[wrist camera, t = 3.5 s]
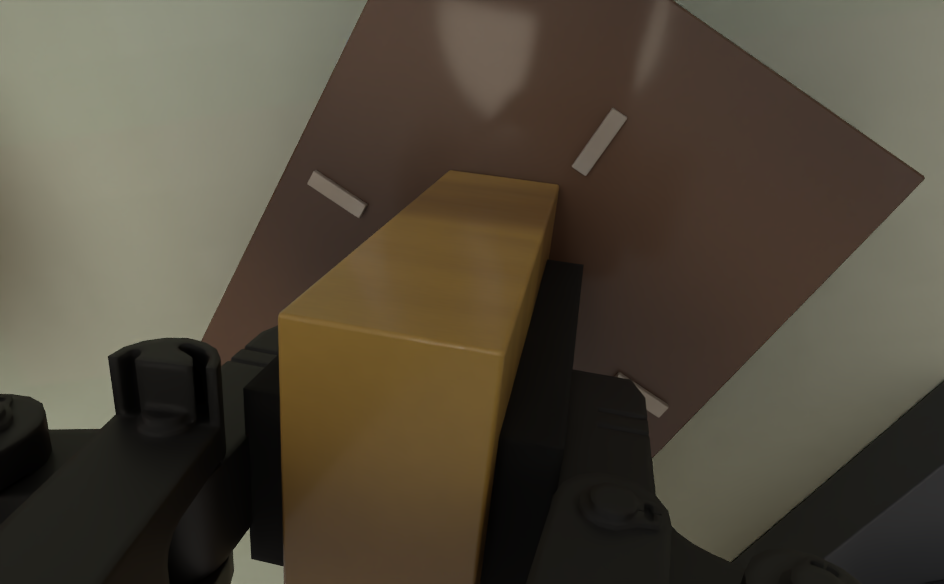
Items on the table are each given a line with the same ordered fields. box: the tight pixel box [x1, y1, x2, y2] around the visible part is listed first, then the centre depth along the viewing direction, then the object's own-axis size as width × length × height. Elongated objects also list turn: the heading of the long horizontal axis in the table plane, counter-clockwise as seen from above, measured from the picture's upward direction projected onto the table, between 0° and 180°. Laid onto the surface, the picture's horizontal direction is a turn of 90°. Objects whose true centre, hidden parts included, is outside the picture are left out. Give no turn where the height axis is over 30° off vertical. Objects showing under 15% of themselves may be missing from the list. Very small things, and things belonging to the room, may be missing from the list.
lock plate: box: [201, 0, 925, 458], centre depth 16 cm, size 14×11×3 cm
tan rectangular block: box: [278, 170, 559, 584], centre depth 11 cm, size 6×2×8 cm, turn 174°
